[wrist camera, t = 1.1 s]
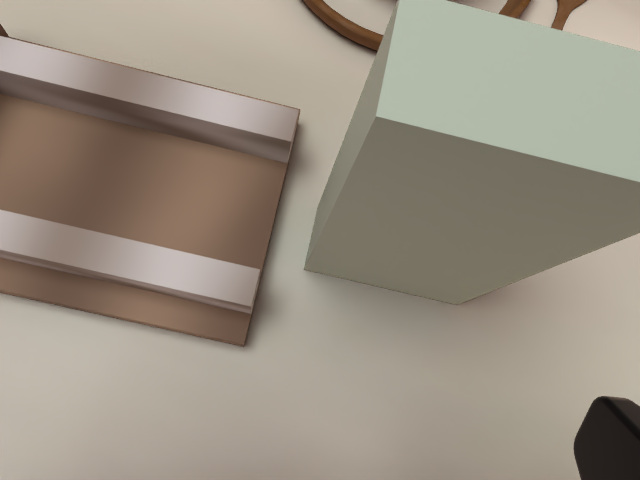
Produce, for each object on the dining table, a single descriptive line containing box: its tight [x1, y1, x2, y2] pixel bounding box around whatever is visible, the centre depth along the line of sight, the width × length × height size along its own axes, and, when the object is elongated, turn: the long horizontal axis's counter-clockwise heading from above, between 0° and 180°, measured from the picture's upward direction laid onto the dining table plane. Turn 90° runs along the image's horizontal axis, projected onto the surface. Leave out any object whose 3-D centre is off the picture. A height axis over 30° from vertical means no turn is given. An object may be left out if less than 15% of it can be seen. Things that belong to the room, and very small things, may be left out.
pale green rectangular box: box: [304, 0, 640, 305], centre depth 16 cm, size 6×2×13 cm, turn 78°
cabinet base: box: [0, 24, 300, 347], centre depth 20 cm, size 12×9×5 cm
